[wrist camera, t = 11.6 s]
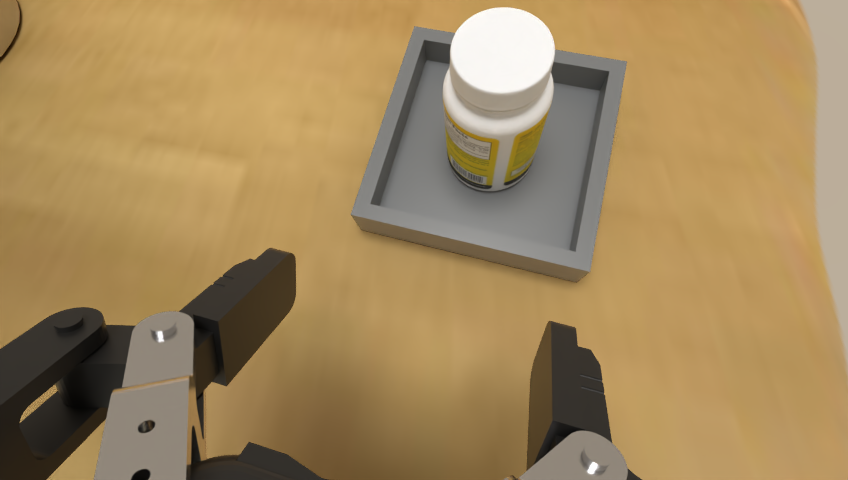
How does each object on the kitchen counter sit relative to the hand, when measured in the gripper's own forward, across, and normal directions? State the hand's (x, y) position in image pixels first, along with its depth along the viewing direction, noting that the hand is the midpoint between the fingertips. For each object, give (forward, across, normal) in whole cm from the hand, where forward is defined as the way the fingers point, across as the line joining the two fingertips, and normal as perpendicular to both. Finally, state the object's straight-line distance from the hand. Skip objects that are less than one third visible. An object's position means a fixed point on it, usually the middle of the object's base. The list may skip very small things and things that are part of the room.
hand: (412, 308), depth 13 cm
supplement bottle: (+14, -1, -1) cm, 14 cm away
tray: (+14, -1, 0) cm, 14 cm away
